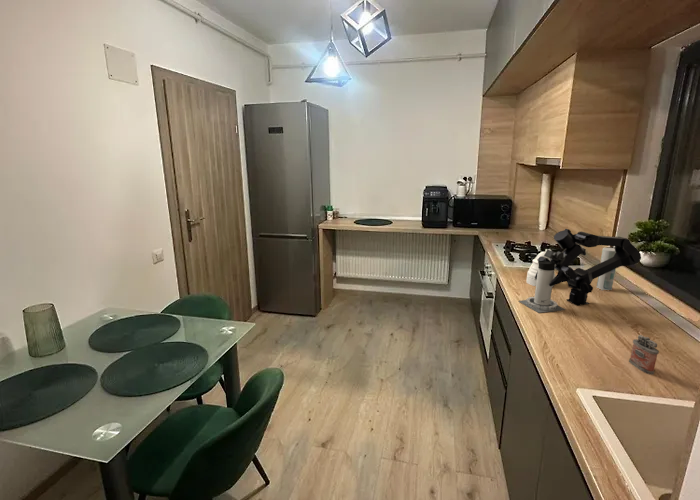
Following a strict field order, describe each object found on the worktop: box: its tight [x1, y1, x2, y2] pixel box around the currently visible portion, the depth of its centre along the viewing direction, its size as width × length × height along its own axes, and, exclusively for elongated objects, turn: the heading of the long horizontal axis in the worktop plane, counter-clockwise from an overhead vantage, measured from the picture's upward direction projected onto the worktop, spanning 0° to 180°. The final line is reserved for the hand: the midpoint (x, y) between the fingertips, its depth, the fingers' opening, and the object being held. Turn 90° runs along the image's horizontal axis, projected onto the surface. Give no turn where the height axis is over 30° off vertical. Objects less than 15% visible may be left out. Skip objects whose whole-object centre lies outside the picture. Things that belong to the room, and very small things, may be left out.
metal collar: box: [525, 296, 559, 311], centre depth 165 cm, size 12×12×1 cm
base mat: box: [518, 299, 566, 314], centre depth 166 cm, size 13×13×1 cm
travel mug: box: [533, 261, 556, 306], centre depth 163 cm, size 6×7×20 cm
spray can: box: [596, 247, 617, 291], centre depth 182 cm, size 6×6×20 cm
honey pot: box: [526, 248, 556, 288], centre depth 191 cm, size 13×13×18 cm
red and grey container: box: [628, 334, 660, 375], centre depth 117 cm, size 8×3×10 cm, turn 5°
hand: (542, 281), depth 163 cm, fingers open, 9 cm apart
